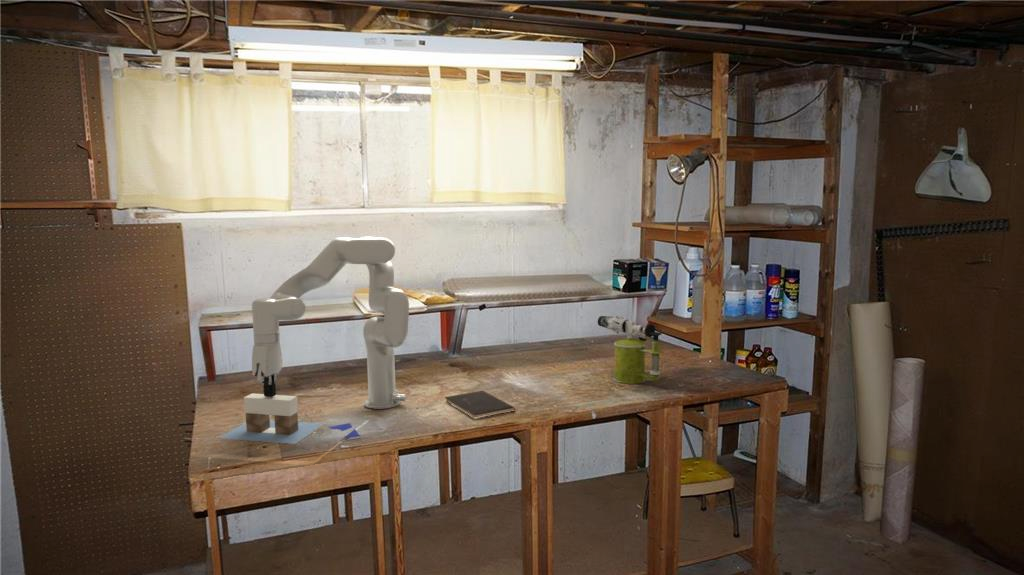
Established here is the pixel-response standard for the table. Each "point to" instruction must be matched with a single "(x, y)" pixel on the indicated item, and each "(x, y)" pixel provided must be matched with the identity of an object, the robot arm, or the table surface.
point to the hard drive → (343, 427)
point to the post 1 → (257, 422)
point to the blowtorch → (632, 350)
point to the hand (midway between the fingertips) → (270, 395)
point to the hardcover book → (479, 403)
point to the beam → (271, 404)
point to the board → (272, 433)
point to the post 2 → (286, 424)
